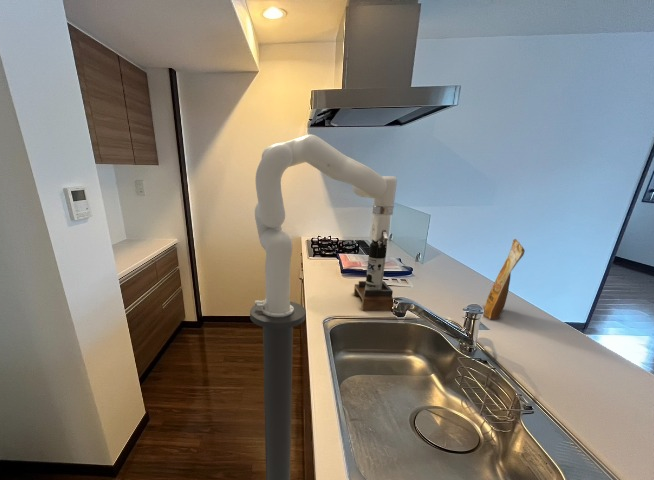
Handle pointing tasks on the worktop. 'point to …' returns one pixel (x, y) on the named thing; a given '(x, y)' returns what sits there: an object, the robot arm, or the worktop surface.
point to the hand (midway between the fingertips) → (377, 254)
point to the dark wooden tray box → (375, 297)
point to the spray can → (374, 269)
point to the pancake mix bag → (503, 283)
